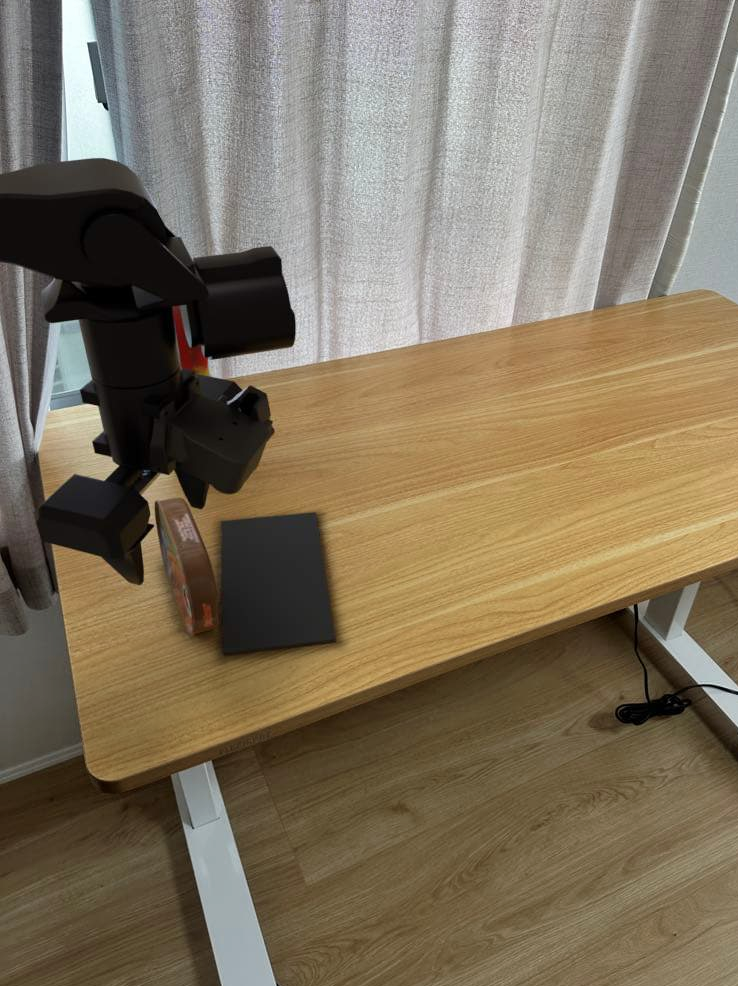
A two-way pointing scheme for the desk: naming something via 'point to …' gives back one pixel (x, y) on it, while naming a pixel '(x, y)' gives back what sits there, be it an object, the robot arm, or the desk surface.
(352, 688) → the desk surface
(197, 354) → the bottle
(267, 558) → the mat
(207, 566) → the tin
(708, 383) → the desk surface
